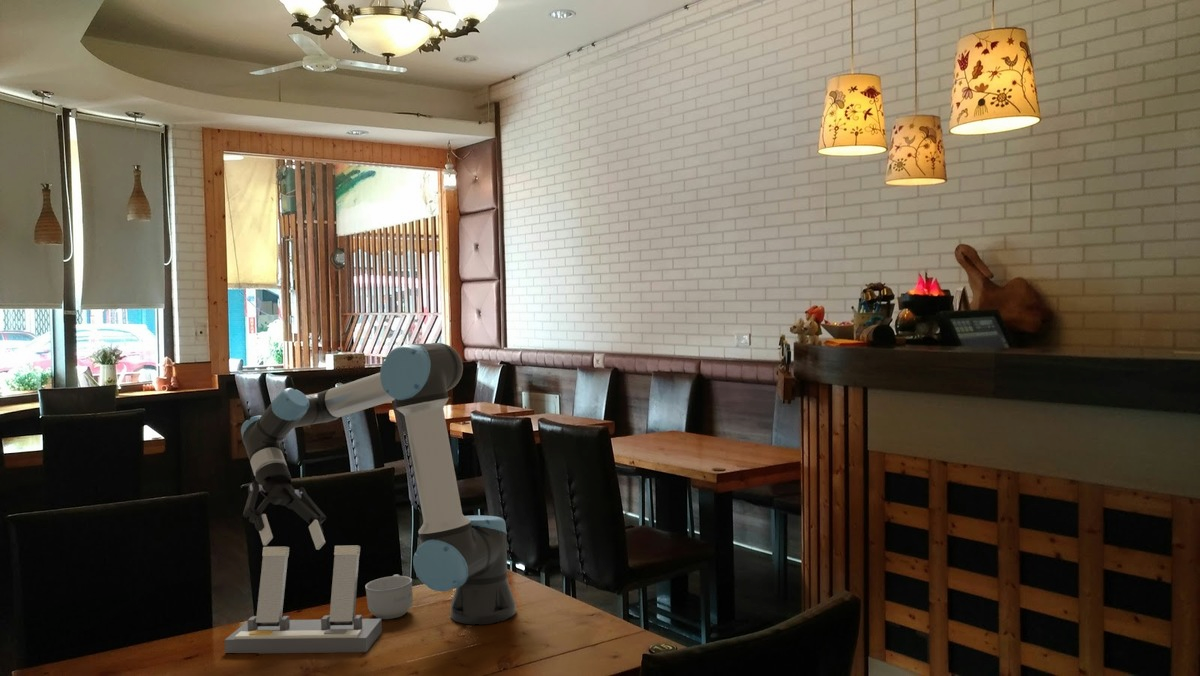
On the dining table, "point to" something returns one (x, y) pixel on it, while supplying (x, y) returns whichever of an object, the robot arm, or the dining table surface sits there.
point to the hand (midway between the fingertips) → (295, 543)
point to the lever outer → (272, 586)
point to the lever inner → (344, 585)
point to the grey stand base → (304, 636)
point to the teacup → (389, 596)
